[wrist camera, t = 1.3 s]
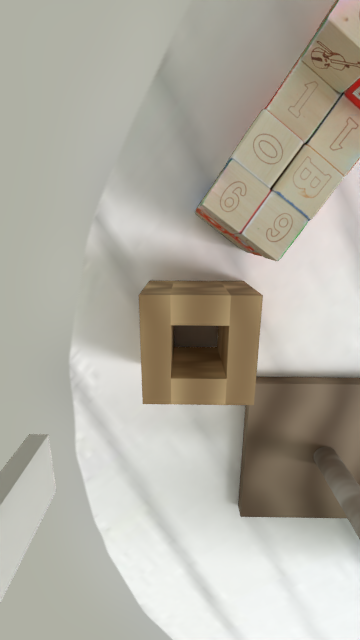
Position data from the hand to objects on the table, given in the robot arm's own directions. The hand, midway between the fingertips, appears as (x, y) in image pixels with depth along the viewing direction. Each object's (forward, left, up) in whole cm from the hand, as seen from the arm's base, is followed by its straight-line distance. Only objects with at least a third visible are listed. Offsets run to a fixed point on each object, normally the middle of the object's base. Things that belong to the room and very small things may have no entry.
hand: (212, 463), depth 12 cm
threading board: (-14, +14, -18) cm, 27 cm away
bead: (0, 0, -18) cm, 18 cm away
